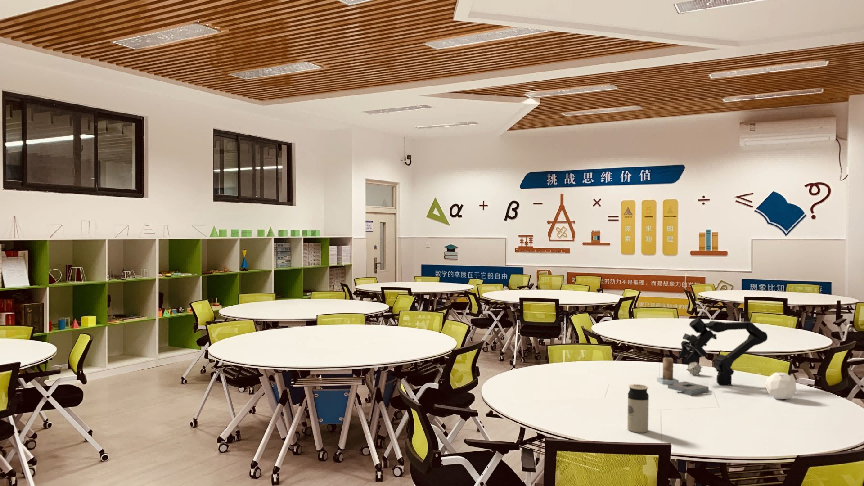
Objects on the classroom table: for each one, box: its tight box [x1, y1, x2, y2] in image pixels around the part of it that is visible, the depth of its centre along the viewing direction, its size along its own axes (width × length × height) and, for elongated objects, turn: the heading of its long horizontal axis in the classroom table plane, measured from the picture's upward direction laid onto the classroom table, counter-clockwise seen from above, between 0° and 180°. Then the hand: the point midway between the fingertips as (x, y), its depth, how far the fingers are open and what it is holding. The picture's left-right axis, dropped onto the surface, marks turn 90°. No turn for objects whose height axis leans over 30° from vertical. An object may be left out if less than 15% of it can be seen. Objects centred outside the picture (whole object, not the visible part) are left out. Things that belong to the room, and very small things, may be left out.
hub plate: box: [667, 381, 710, 397], centre depth 324 cm, size 14×14×3 cm
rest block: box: [656, 377, 680, 385], centre depth 339 cm, size 9×7×3 cm
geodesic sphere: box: [765, 371, 797, 400], centre depth 310 cm, size 14×14×14 cm
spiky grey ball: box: [686, 361, 702, 377], centre depth 364 cm, size 9×8×10 cm
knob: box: [662, 357, 674, 380], centre depth 338 cm, size 5×5×13 cm
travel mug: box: [627, 383, 650, 434], centre depth 255 cm, size 8×8×18 cm
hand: (682, 359), depth 339 cm, fingers open, 9 cm apart
